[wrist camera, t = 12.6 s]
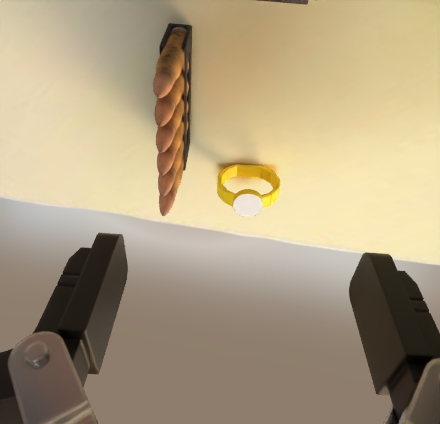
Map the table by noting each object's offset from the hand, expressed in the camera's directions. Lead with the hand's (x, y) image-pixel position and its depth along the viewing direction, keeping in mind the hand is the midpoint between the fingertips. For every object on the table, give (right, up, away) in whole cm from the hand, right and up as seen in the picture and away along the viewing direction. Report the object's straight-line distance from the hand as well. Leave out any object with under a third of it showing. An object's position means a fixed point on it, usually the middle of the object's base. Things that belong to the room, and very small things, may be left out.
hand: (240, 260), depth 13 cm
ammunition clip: (-4, +13, +20) cm, 24 cm away
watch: (+2, +6, +26) cm, 26 cm away
